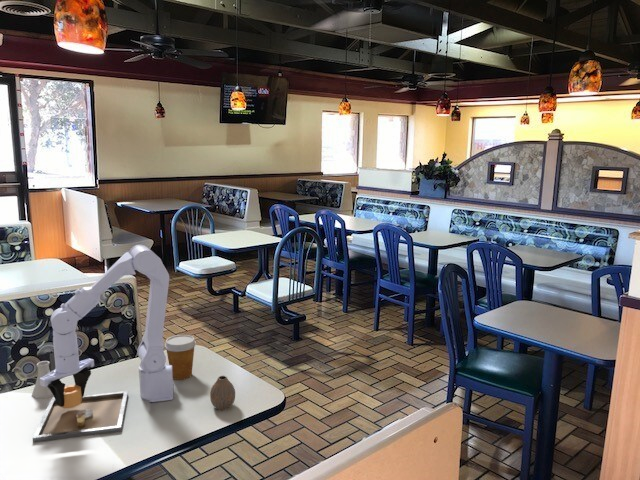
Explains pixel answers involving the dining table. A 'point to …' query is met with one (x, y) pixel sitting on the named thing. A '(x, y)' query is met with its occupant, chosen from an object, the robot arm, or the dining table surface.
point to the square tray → (88, 415)
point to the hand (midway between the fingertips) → (70, 400)
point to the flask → (38, 389)
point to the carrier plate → (102, 417)
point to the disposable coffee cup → (180, 355)
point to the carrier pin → (81, 421)
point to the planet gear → (72, 396)
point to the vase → (222, 393)
